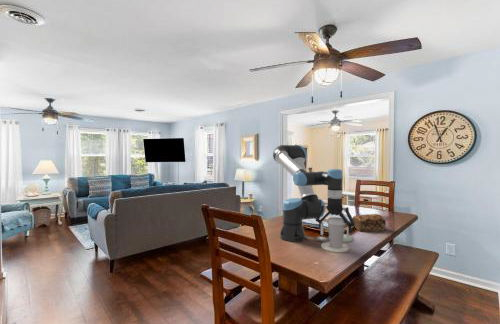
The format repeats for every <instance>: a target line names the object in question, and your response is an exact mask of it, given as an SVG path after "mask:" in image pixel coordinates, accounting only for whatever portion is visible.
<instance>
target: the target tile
mask: <svg viewBox="0 0 500 324" xmlns="http://www.w3.org/2000/svg"><path fill="white" fill-rule="evenodd" d="M314 240H315V242H316V241H318V242H322V243H325V242H330V241H329V237H325V236H322V235H318V236H317V237H315V239H314Z"/></svg>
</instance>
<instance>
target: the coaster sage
mask: <svg viewBox="0 0 500 324" xmlns="http://www.w3.org/2000/svg"><path fill="white" fill-rule="evenodd" d="M353 241H354V237H353V236H351V235H350V234H349V239H347V233H344V237H343V243H350V242H351V243H352V242H353Z"/></svg>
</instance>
